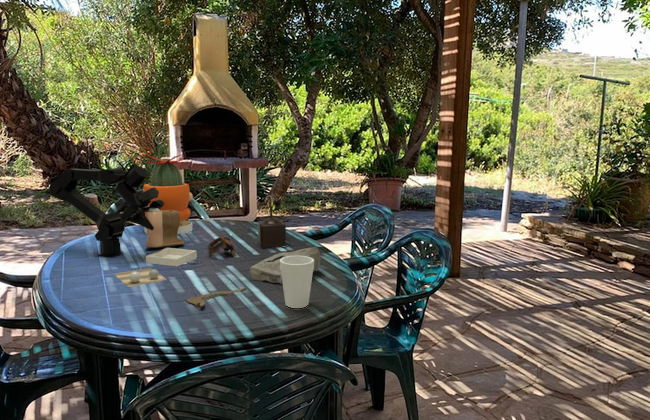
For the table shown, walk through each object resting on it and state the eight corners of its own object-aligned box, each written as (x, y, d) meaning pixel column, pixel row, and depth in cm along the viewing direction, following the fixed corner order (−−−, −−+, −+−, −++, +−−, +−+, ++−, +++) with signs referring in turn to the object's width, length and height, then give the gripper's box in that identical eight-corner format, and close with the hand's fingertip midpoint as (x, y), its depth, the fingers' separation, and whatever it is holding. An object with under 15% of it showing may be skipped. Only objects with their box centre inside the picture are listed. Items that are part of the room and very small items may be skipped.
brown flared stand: (179, 241, 211) (178, 206, 209) (186, 247, 201) (185, 210, 198) (142, 244, 204) (140, 208, 202) (146, 251, 194) (145, 213, 191)
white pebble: (126, 283, 155) (126, 272, 154) (134, 279, 158) (133, 269, 157) (136, 284, 154) (135, 273, 153) (143, 281, 157) (142, 270, 156)
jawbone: (177, 308, 139) (176, 301, 139) (224, 288, 157) (224, 281, 157) (202, 311, 135) (201, 304, 134) (248, 290, 153) (247, 284, 152)
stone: (296, 289, 154) (325, 271, 172) (296, 259, 152) (325, 244, 170) (246, 280, 162) (279, 264, 180) (246, 251, 160) (278, 238, 178)
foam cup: (280, 299, 144) (280, 255, 141) (312, 298, 145) (312, 255, 142) (280, 311, 134) (279, 265, 132) (314, 311, 135) (314, 264, 133)
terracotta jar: (147, 247, 179) (145, 210, 176) (147, 243, 184) (146, 207, 181) (163, 246, 180) (161, 209, 178) (163, 242, 185) (161, 207, 183)
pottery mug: (234, 260, 185) (223, 243, 182) (213, 270, 187) (201, 252, 184) (241, 244, 196) (230, 228, 193) (221, 254, 198) (209, 237, 195)
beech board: (113, 275, 164) (113, 273, 164) (150, 269, 171) (150, 267, 171) (128, 288, 151) (128, 286, 151) (167, 281, 159) (167, 279, 159)
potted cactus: (148, 227, 238) (144, 153, 231) (196, 226, 240) (193, 153, 234) (136, 237, 216) (132, 156, 210) (189, 236, 219) (186, 156, 213)
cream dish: (146, 264, 177) (145, 256, 176) (167, 255, 189) (167, 247, 188) (177, 267, 173) (176, 259, 173) (196, 258, 185) (196, 250, 184)
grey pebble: (147, 279, 159) (146, 270, 158) (153, 276, 161) (152, 267, 161) (155, 280, 158) (154, 271, 157) (160, 277, 161) (160, 268, 160)
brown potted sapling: (287, 247, 203) (287, 203, 200) (260, 248, 200) (260, 204, 197) (281, 238, 218) (281, 197, 215) (256, 239, 215) (255, 198, 212)
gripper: (125, 184, 170) (154, 218, 169) (159, 178, 188) (185, 209, 186) (107, 205, 174) (136, 238, 173) (142, 197, 191) (168, 228, 190)
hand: (158, 227), depth 180 cm, fingers closed on terracotta jar, 5 cm apart
